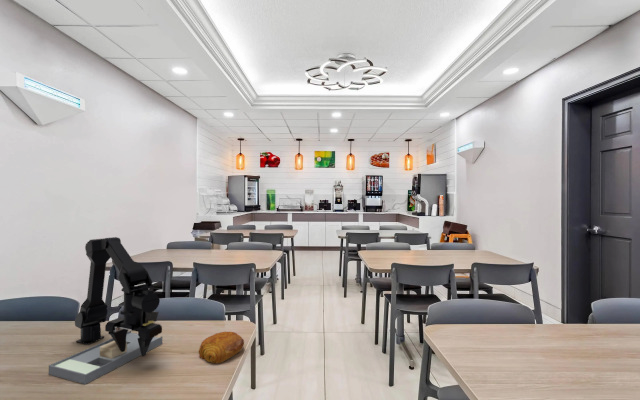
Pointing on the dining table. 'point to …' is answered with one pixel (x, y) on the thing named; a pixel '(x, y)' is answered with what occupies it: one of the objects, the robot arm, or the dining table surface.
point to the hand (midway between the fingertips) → (133, 353)
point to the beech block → (111, 350)
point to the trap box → (97, 361)
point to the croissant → (220, 347)
